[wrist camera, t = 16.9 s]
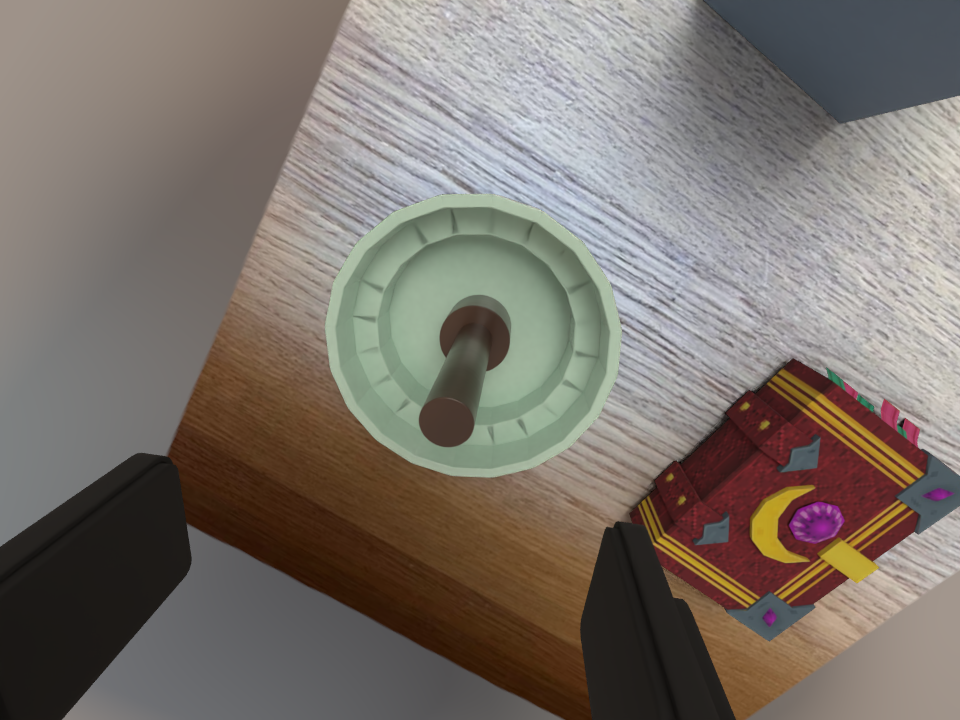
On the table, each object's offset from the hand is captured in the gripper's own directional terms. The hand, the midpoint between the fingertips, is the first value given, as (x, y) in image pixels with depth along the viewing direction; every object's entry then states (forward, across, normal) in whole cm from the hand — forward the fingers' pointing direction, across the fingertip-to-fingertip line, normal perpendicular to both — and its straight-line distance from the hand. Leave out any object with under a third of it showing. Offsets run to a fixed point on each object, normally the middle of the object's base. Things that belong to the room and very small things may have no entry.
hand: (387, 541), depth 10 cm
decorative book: (+20, -21, +9) cm, 30 cm away
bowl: (+20, 0, +1) cm, 20 cm away
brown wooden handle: (+19, 0, +1) cm, 19 cm away
